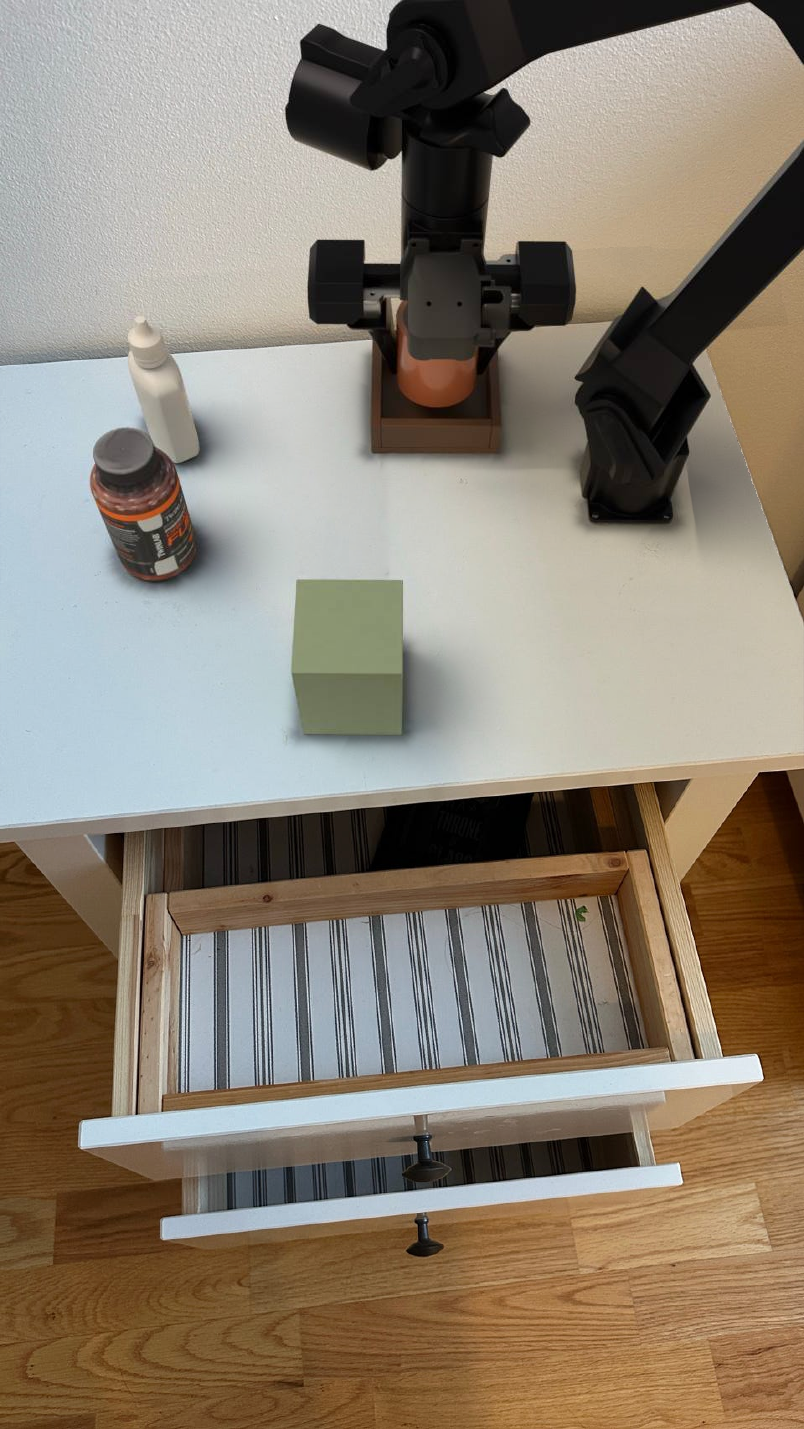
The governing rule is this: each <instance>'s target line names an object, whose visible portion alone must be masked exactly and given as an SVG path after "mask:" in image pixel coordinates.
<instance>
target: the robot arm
mask: <svg viewBox="0 0 804 1429" xmlns="http://www.w3.org/2000/svg"><path fill="white" fill-rule="evenodd" d="M749 3H750V4H751V5H753V7H755V8H757V9H758V10H759V11H761V12H762V13H763V14H764V15H766V16H767V17H768V18H770V19H771V20H772V21H773V22H774V23H775V25H776V27H778V29H779V31H780V32H781V33H782V35H783V36H784V38H785V40H786V41H787V43H788V45H789V46H790V47H791V49H792V50H793V51H794V52H793V53H795V54H796V56H797V58H798V59H799V61H800V63H801V64H802V65H803V66H804V0H399V1H398V2H397V3H396V4H395V6H393V8H392V9H391V11H389V14H388V20H387V25H386V29H385V32H386V33H385V35H386V37H385V38H386V39H385V40H386V48H385V49H384V50H383V49H381V48H378V47H375V46H373V45H370V44H367V43H364V42H362V41H358V40H356V39H353V38H351V37H348V36H346V35H344V34H342V33H341V32H339V31H338V30H336V29H334V28H333V27H330V26H327V25H324V24H323V23H317V24H316V25H315V26H314V27H313V28H311V30H310V31H309V32H308V33H306V34H305V36H303V37H302V38H301V39H300V40H299V46H300V59H299V61H298V63H297V66H296V68H295V70H294V73H293V76H292V79H291V83H290V87H289V93H288V101H287V104H286V105H285V107H284V115H285V116H284V118H285V123H286V128H287V131H288V133H289V135H290V137H291V138H292V139H293V140H294V142H296V143H297V142H298V143H300V144H302V145H305V146H307V147H310V148H313V149H315V150H318V151H319V152H322V153H325V154H327V155H330V156H333V157H335V158H337V159H341V160H343V161H345V162H348V163H350V164H352V165H356V166H357V167H359V168H364V169H365V170H368V171H370V172H372V171H373V172H374V171H377V170H379V169H381V167H383V166H384V164H385V163H386V162H387V161H388V160H394V159H396V158H397V157H398V156H399V155H400V154H401V184H400V185H401V186H400V187H401V190H400V192H401V195H400V196H401V198H400V202H401V203H400V204H401V205H400V206H401V207H400V261H399V262H400V263H381V262H380V263H375V262H374V263H370V262H369V263H366V262H365V261H366V241H365V239H316V240H315V241H314V243H313V244H312V245H311V246H310V248H309V256H308V271H307V288H306V289H307V308H308V317H309V319H310V320H311V321H312V322H313V323H315V324H316V325H346V327H347V328H349V329H350V330H352V331H364V332H366V331H367V333H368V334H369V335H370V336H371V339H372V338H373V339H374V341H375V342H376V344H377V346H378V348H379V350H380V352H381V354H382V356H383V358H384V360H385V362H386V364H387V366H388V368H389V370H390V372H391V374H397V359H396V337H395V330H396V328H395V323H394V315H393V306H392V299H399V301H403V300H407V350H408V352H409V354H410V355H411V356H412V357H413V358H414V359H416V360H422V361H427V360H430V359H454V360H457V361H466V360H469V359H471V358H472V357H474V355H475V354H476V352H477V348H478V347H480V349H479V359H478V368H477V375H482V374H483V373H484V371H485V369H486V368H487V366H488V365H489V363H490V361H491V360H492V358H493V357H494V355H495V353H496V352H497V350H498V351H499V349H500V347H501V346H502V345H503V343H504V342H505V340H507V338H508V337H509V336H510V335H511V334H512V333H518V332H530V331H532V330H534V328H535V327H565V326H567V325H568V324H569V323H570V322H572V320H573V316H574V310H575V307H576V301H577V300H576V298H577V284H576V283H577V282H576V275H575V264H574V255H573V249H572V248H571V246H569V244H568V243H567V241H565V240H563V241H562V240H561V241H560V240H556V241H555V240H518V241H517V242H516V243H515V252H514V253H506V254H502V255H501V256H500V257H499V259H497V260H489V259H487V260H486V258H485V245H486V244H485V243H486V234H487V233H486V232H487V222H488V212H489V211H488V210H489V200H490V192H491V180H492V169H493V160H494V157H496V158H499V159H501V158H504V157H505V156H506V155H507V154H508V153H509V152H510V150H511V149H512V148H513V147H514V145H515V144H516V143H517V142H518V141H519V140H520V139H521V137H522V136H523V135H524V133H525V132H526V131H527V130H528V129H529V127H530V126H531V118H530V116H529V115H528V114H527V112H526V111H525V109H524V108H523V107H522V106H521V105H520V104H518V103H517V102H516V101H515V100H513V98H512V96H511V94H510V92H509V90H508V89H507V88H506V87H502V88H500V89H499V90H498V91H497V92H496V93H495V94H489V93H486V92H487V91H489V90H492V89H493V88H495V87H496V86H498V85H499V84H500V83H502V82H503V81H505V80H507V79H508V78H509V77H511V76H513V75H514V74H515V73H517V72H518V71H520V70H522V69H523V68H525V67H527V66H528V65H529V64H531V63H533V62H535V61H537V60H538V59H540V58H543V57H545V56H547V55H549V54H552V53H557V52H561V51H564V50H568V49H572V48H576V47H580V46H584V45H588V44H591V43H596V42H600V41H604V40H607V39H611V38H615V37H619V36H624V35H628V34H631V33H634V32H635V33H636V32H639V31H643V30H646V29H650V28H654V27H659V26H662V25H667V24H670V23H674V22H679V21H681V20H686V19H690V18H695V17H697V16H703V15H705V14H706V15H707V14H710V13H714V12H717V11H721V10H726V9H729V8H732V7H733V8H734V7H736V6H740V5H741V6H742V5H746V4H749ZM803 251H804V139H803V140H802V141H801V142H800V143H799V145H798V146H797V147H796V148H795V149H794V150H793V152H791V154H790V155H789V156H788V158H787V159H786V160H785V161H784V162H783V163H782V164H781V166H780V167H779V168H778V169H777V170H776V172H775V173H774V174H773V175H772V176H771V178H770V179H769V180H768V181H767V182H766V183H765V184H764V185H763V186H762V188H761V189H760V190H759V191H758V193H757V194H756V195H755V196H754V197H753V198H752V199H751V201H750V202H749V203H748V204H747V205H746V207H745V208H744V209H743V210H742V212H740V213H739V215H738V216H737V217H736V218H735V220H734V221H732V223H731V224H730V225H729V226H728V228H727V229H726V230H725V231H724V232H723V233H722V234H721V236H720V237H719V238H718V239H717V240H716V241H715V243H714V244H713V245H712V246H711V247H710V248H709V249H708V251H707V252H706V253H705V254H704V255H703V257H702V258H701V259H700V260H699V262H698V263H697V264H695V266H694V267H693V268H692V269H691V271H690V272H689V273H688V274H687V275H686V277H685V278H684V279H683V280H682V281H681V282H680V284H679V285H678V286H677V287H676V288H675V289H674V290H673V291H672V292H671V293H669V294H668V295H665V296H663V297H661V298H658V299H655V298H654V297H653V295H652V294H651V293H650V292H649V291H648V290H647V289H646V288H645V286H641V287H640V288H639V289H638V291H637V292H636V294H635V296H634V297H633V299H631V301H630V303H629V304H628V306H627V307H626V309H625V310H624V311H623V313H622V314H620V315H618V316H615V317H614V319H613V320H612V322H610V325H609V326H608V328H607V329H606V330H605V331H604V333H603V335H602V336H601V338H600V339H599V341H598V342H597V343H596V345H595V346H594V348H593V349H592V351H591V352H590V354H589V355H588V357H587V358H586V360H585V361H584V362H583V364H582V365H581V367H580V369H579V370H578V371H577V373H576V374H575V376H574V380H575V381H577V382H580V383H581V384H580V386H579V387H578V388H577V390H576V393H575V395H574V400H573V403H574V405H575V406H576V407H577V410H578V413H579V415H580V417H581V418H582V420H583V423H584V428H585V429H584V430H585V434H586V440H587V441H586V445H585V448H584V454H583V457H582V460H581V464H580V469H579V481H580V492H581V497H582V498H583V499H584V500H585V502H586V511H587V519H588V521H589V522H590V523H591V524H632V525H633V524H634V525H635V524H638V525H639V524H642V525H643V524H644V525H646V524H648V525H653V524H654V525H655V524H656V525H657V524H658V525H661V524H662V525H667V524H671V523H672V521H673V519H674V508H673V502H672V497H673V495H674V493H675V490H676V488H677V485H678V482H679V480H680V478H681V475H682V473H683V470H684V468H685V465H686V463H687V460H688V458H689V455H690V447H689V441H688V436H689V434H690V432H692V429H693V428H694V426H695V424H696V422H697V421H698V419H699V417H700V416H701V414H702V412H703V410H704V409H705V407H706V406H707V404H708V402H709V401H710V399H711V392H710V391H709V389H708V388H707V386H706V384H705V382H704V380H703V379H702V377H701V374H700V373H699V372H698V370H697V369H696V367H695V365H694V363H695V361H696V360H697V359H698V357H700V356H701V354H702V353H704V351H705V350H706V349H708V347H709V346H710V345H712V344H713V342H714V341H715V340H716V339H717V338H718V337H719V336H720V335H721V334H722V333H724V331H725V330H726V329H727V328H728V327H729V326H730V325H731V324H732V323H733V322H734V321H735V320H736V319H737V318H738V317H739V316H740V315H741V314H742V313H743V312H744V311H745V310H746V309H747V308H748V307H749V306H750V304H752V303H753V302H754V301H755V300H756V299H757V298H758V296H760V295H761V293H763V292H764V290H765V289H767V287H768V286H769V285H771V284H772V282H773V281H774V280H775V279H776V278H778V276H779V275H781V273H782V272H783V271H784V270H785V269H786V268H787V267H788V266H789V265H790V264H791V263H792V262H793V261H794V260H795V259H796V258H797V257H798V256H800V254H801V253H802V252H803Z"/></svg>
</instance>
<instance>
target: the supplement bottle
mask: <svg viewBox="0 0 804 1429" xmlns="http://www.w3.org/2000/svg"><path fill="white" fill-rule="evenodd" d="M92 458H93V461H94V465H93V466H92V468H91V471H90V474H89V487H90V491H91V492H90V493H91V494H92V497H93V499H94V501H95V504H96V507H97V509H98V511H99V513H100V516H101V518H102V521H103V523H104V525H105V528H106V531H107V534H108V535H109V537H110V540H111V542H112V545H113V548H114V550H115V552H116V554H117V557H118V559H119V561H120V563H121V565H122V567H123V568H124V569H125V570H126V571H127V572H128V573H129V574H130V575H132V576H133V577H136V578H138V579H141V580H143V581H151V582H152V581H153V582H154V581H164V580H168V579H171V578H174V577H175V576H178V575H180V574H182V573H183V571H185V570H186V569H187V568H188V567H189V566H190V565H191V563H192V562H193V560H194V558H195V555H196V553H197V548H198V547H197V546H198V545H197V537H196V533H195V528H194V525H193V522H192V518H191V515H190V512H189V509H188V505H187V502H186V499H185V494H184V491H183V487H182V484H181V480H180V477H179V474H178V470H177V469H176V465H175V463H174V462H173V461H172V460H171V459H170V457H169V456H167V454H166V453H164V452H163V451H162V450H160V449H158V448H156V446H155V445H154V443H153V441H152V439H151V437H150V435H148V434H147V433H146V432H144V431H143V430H141V429H138V428H134V427H129V426H128V427H118V428H115V429H112V430H110V431H109V430H108V431H107V432H106V433H104V434H103V435H102V436H100V437H99V438H98V440H96V442H95V443H94V446H93V449H92Z"/></svg>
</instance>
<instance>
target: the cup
mask: <svg viewBox="0 0 804 1429" xmlns="http://www.w3.org/2000/svg"><path fill="white" fill-rule="evenodd" d="M395 315H396V316H395V330H396V359H397V374H396V381H397V384H398V387H399V389H400V390H401V392H402V393H403V394H404V395H405V396H406V397H407V398H408V399H410V400H411V401H413V402H415V403H417V404H420V405H423V406H427V407H447V406H451V405H454V404H457V403H459V402H461V401H463V400H464V399H465V398H467V397H468V396H469V395H470V393H471V392H472V391H473V389H474V387H475V384H476V379H477V368H478V359H479V349H480V347H478V348H477V352H476V354H475V355H474V357H472V358H471V359H469V360H466V361H457V360H454V359H430V360H427V361H422V360H416V359H414V358H413V357H412V356H411V355H410V354H409V352H408V350H407V300H401V302H400V304H399V305H398V308H397V310H396V314H395Z"/></svg>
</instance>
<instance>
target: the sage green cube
mask: <svg viewBox="0 0 804 1429" xmlns="http://www.w3.org/2000/svg"><path fill="white" fill-rule="evenodd" d="M295 582H296V583H295V598H294V599H295V600H294V616H293V634H292V651H291V666H290V667H291V669H290V674H291V679H292V683H293V688H294V694H295V699H296V704H297V710H298V714H299V720H300V724H301V729H302V733H303V735H355V736H356V735H360V736H361V735H363V736H365V735H367V736H368V735H375V736H377V735H378V736H383V735H386V736H391V735H392V736H393V735H394V736H400V735H401V736H402V734H403V688H404V686H403V685H404V684H403V683H404V677H403V676H404V580H403V579H313V578H312V579H307V578H305V579H304V578H303V579H300V578H299V579H296V581H295Z"/></svg>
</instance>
